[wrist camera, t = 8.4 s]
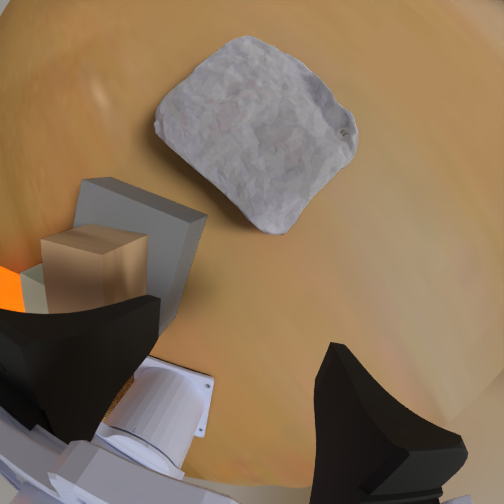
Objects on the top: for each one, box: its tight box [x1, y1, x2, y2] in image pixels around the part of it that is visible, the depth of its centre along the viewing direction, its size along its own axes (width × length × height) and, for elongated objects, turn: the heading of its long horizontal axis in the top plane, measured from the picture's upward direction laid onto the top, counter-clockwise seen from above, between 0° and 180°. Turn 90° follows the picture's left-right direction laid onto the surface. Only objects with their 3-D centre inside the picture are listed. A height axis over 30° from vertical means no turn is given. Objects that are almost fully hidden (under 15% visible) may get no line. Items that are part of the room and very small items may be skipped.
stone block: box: [154, 36, 358, 235], centre depth 17 cm, size 12×5×10 cm
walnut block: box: [41, 224, 148, 314], centre depth 16 cm, size 5×5×5 cm
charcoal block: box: [73, 177, 208, 338], centre depth 20 cm, size 9×9×4 cm
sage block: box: [20, 263, 49, 314], centre depth 22 cm, size 5×5×5 cm
